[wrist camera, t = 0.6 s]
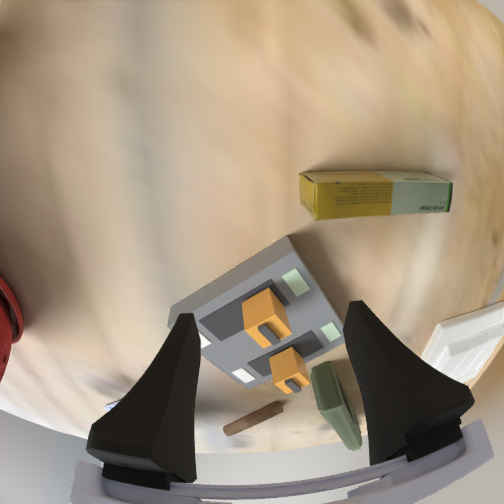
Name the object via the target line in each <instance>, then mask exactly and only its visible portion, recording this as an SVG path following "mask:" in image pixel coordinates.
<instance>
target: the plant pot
mask: <svg viewBox="0 0 504 504" xmlns="http://www.w3.org/2000/svg"><path fill="white" fill-rule="evenodd" d="M22 333H23V318H22V314H21V311H20V308H19V305H18V303H17V300H16V298H15V296H14V295H13V293H12V291H11V290H10V288H9V287H8V285H7V284H6V282H5V281H4V280H3V279H2V278H1V276H0V382H1V380H2V377H3V375H4V372H5V369H6V366H7V363H8V360H9V356H10V351H11V344H14V343H17V342H18V341H19V340H20V339H21V336H22Z"/></svg>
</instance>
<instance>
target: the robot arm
mask: <svg viewBox="0 0 504 504" xmlns="http://www.w3.org/2000/svg"><path fill="white" fill-rule="evenodd" d="M343 335H344V340H345V344H346V348H347V352H348V355H349V357H350V360H351V363H352V366H353V369H354V372H355V375H356V378H357V381H358V384H359V387H360V391H361V394H362V399H363V404H364V410H365V416H366V422H367V431H368V439H369V456H370V467H366V468H362V469H358V470H354V471H350V472H345V473H341V474H336V475H331V476H326V477H320V478H314V479H308V480H301V481H293V482H284V483H273V484H259V485H200V484H186V483H193V482H194V481H195V480H196V479H197V475H196V463H195V441H194V408H195V398H196V390H197V383H198V376H199V368H200V361H201V339H200V335H199V332H198V328H197V324H196V321H195V317H194V313H180V314H179V315H178V318H177V320H176V322H175V324H174V326H173V328H172V329H171V331H170V333H169V335H168V337H167V339H166V340H165V342H164V344H163V345H162V347H161V349H160V351H159V352H158V354H157V355H156V357H155V358H154V360H153V361H152V363H151V364H150V366H149V367H148V369H147V370H146V371H145V373H144V374H143V375H142V377H141V378H140V379H139V380H138V382H137V383H136V384H135V385H134V386H133V387H132V389H131V390H130V391H129V392H128V393H127V394H126V395H125V396H124V397H123V398H122V399H121V400H120V401H117V402H115V403H112V404H109V405H106V406H105V407H104V409H105V410H107V411H108V412H107V413H106V414H105V415H104V416H102V417H101V418H100V419H99V420H97V421H96V422H95V423H93V424H92V427H91V429H90V432H89V436H88V441H87V447H86V450H87V452H88V453H89V454H90V455H92V456H94V457H95V458H97V459H99V460H100V461H102V464H101V467H100V466H97V465H94V464H90V463H87V462H84V461H80V460H76V463H75V469H74V475H73V481H72V487H71V494H70V504H231V503H224V502H209V501H202V500H200V499H224V500H226V499H227V500H228V499H229V500H230V499H231V500H239V499H265V498H277V497H287V496H296V495H303V494H310V493H316V492H321V491H327V490H332V489H337V488H342V487H346V486H350V485H354V484H358V483H362V482H366V481H369V480H372V479H376V478H379V477H381V478H380V479H379V480H377V481H374V482H371V483H368V484H365V485H362V486H359V487H358V488H356V489H354V490H351V491H349V492H348V493H347V494H348V499H344V500H339V501H334V502H329V503H325V504H413V503H415V502H417V501H419V500H421V499H424V498H426V497H428V496H429V495H431V494H433V493H435V492H437V491H439V490H441V489H443V488H445V487H447V486H448V485H450V484H452V483H453V482H455V481H457V480H458V479H460V478H462V477H464V476H465V475H467V474H468V473H470V472H472V471H473V470H475V469H476V468H478V467H479V466H481V465H483V464H484V463H486V462H487V461H489V460H490V459H492V458H493V457H494V452H493V450H492V446H491V443H490V441H489V438H488V435H487V432H486V430H485V427H484V424H483V422H482V419H478V420H476V421H474V422H473V423H471V424H469V425H467V426H465V427H463V428H462V429H460V427H459V425H460V424H461V419H460V417H461V416H462V415H463V414H464V413H465V412H466V411H467V410H468V409H470V408H471V406H473V404H474V402H475V400H474V398H473V395H472V393H471V391H470V389H469V387H468V386H467V385H465V384H462V383H460V382H458V381H456V380H454V379H452V378H450V377H448V376H447V375H445V374H443V373H441V372H440V371H438V370H437V369H435V368H433V367H432V366H431V365H429V364H428V363H426V362H425V361H423V360H422V359H421V358H419V357H418V356H417V355H416V354H415V353H413V352H412V351H411V350H410V349H409V348H407V347H406V346H405V345H404V344H403V343H402V342H401V341H400V340H399V339H398V338H397V337H396V336H395V335H394V334H393V333H392V332H391V331H390V330H389V329H388V328H387V327H386V326H385V325H384V324H383V323H382V322H381V321H380V319H379V318H378V317H377V316H376V315H375V314H374V313H373V312H372V311H371V310H370V308H369V307H368V306H367V305H366V304H365V303H364V302H363V301H362V300H360V301H352V302H350V304H349V308H348V312H347V316H346V320H345V323H344V327H343Z"/></svg>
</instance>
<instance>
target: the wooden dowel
mask: <svg viewBox="0 0 504 504" xmlns="http://www.w3.org/2000/svg"><path fill="white" fill-rule="evenodd" d="M281 412H283V406H282V405H281V404H280V403H278V402H273V403H272V404H270V405H268V406H266V407H264V408H262V409H260V410H258V411H256V412H254V413H252V414H250V415H248V416H246V417H244V418H242V419H239V420H237V421H235V422H233V423H231V424H229V425H226V426H224V428H223V431H224V433H225V434H226V435H227V436H231V435H234V434H236V433H238V432H241V431H243V430H245V429H248V428H250V427H252V426H254V425H256V424H259V423H261V422H263V421H265V420H267V419H269V418H271V417H273V416H275V415H277V414H279V413H281Z"/></svg>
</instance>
